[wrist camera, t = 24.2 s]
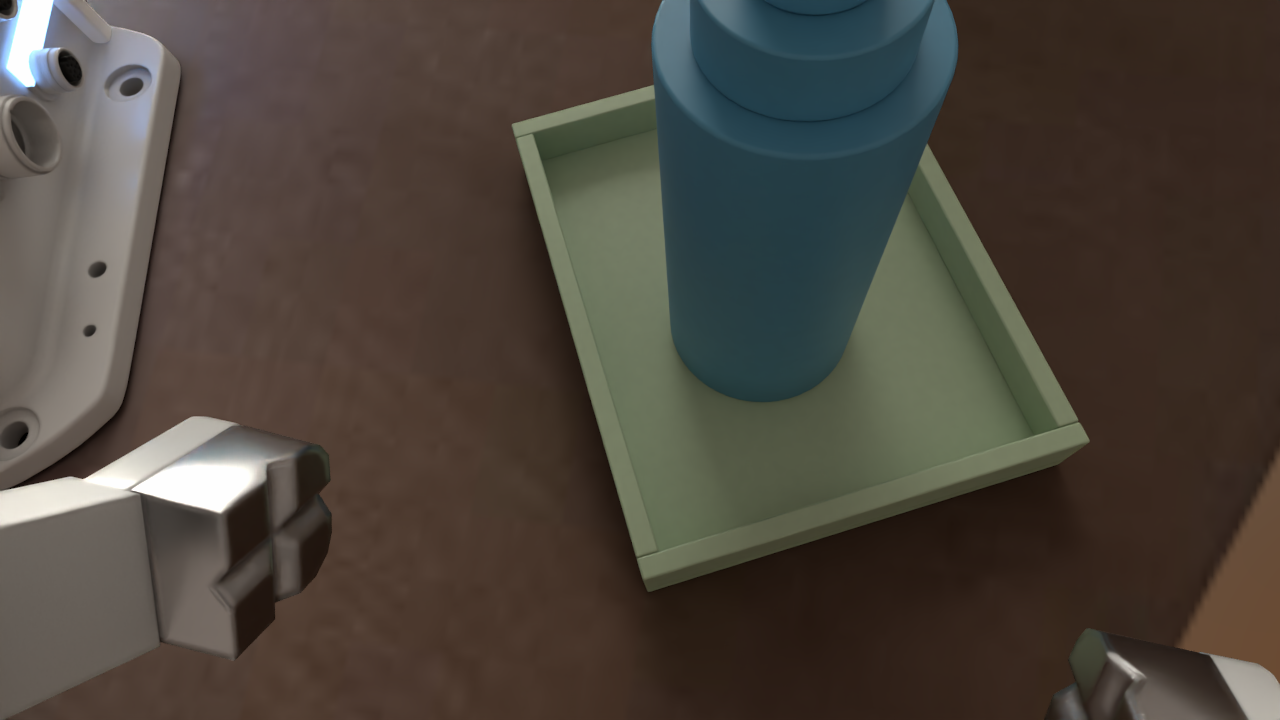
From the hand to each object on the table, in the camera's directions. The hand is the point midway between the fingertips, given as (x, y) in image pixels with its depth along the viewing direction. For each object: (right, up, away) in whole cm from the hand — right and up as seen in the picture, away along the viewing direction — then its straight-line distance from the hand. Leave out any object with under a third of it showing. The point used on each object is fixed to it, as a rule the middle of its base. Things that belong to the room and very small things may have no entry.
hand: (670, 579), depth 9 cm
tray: (+4, +4, +17) cm, 18 cm away
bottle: (+3, +4, +16) cm, 17 cm away
